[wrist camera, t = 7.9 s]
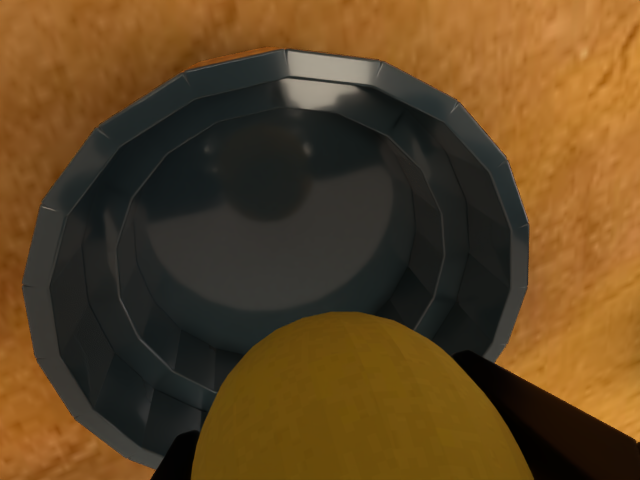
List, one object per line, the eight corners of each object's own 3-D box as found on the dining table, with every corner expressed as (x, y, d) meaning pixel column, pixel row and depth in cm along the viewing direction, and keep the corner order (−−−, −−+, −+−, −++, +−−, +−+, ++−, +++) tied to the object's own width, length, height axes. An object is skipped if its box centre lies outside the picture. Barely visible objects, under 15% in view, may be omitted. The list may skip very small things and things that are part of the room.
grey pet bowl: (431, 9, 14) (536, -10, 9) (453, 327, 20) (525, 417, 15) (15, 102, 13) (-113, 136, 8) (169, 410, 19) (149, 537, 14)
